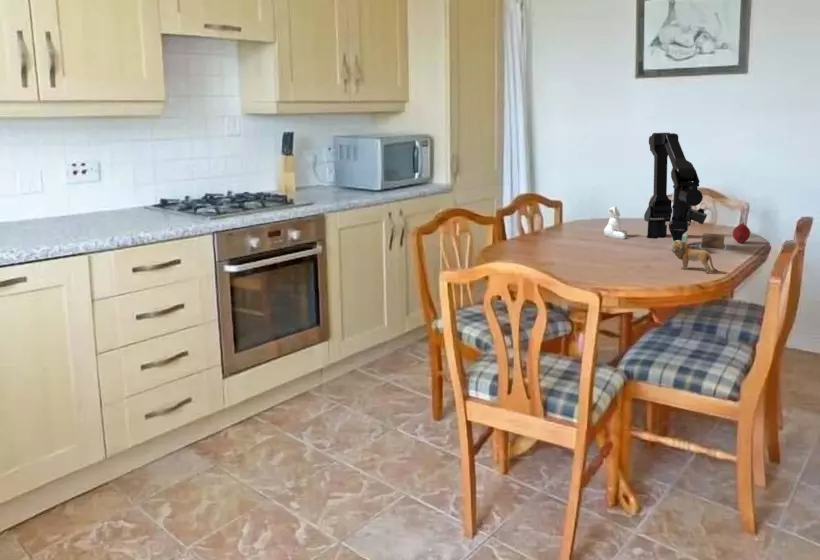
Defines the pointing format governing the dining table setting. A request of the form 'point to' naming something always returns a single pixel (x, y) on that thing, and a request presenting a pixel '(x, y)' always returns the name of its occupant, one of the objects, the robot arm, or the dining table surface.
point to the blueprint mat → (726, 248)
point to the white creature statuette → (614, 225)
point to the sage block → (684, 239)
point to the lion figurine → (691, 255)
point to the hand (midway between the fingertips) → (678, 245)
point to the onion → (741, 233)
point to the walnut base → (713, 241)
